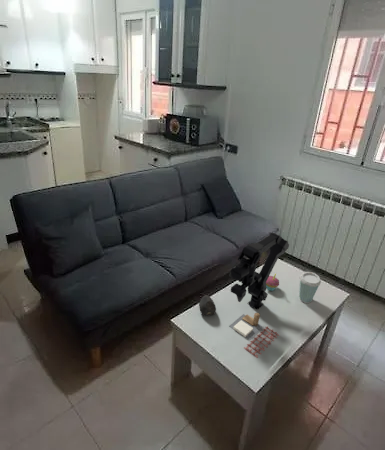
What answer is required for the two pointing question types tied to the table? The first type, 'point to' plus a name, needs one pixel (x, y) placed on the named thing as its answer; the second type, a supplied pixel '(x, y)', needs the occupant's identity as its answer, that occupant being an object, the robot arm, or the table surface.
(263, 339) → the red lattice rack
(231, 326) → the mat
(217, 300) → the table surface
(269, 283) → the cupcake
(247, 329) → the tile
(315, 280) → the disposable coffee cup
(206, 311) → the stone
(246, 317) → the turner
